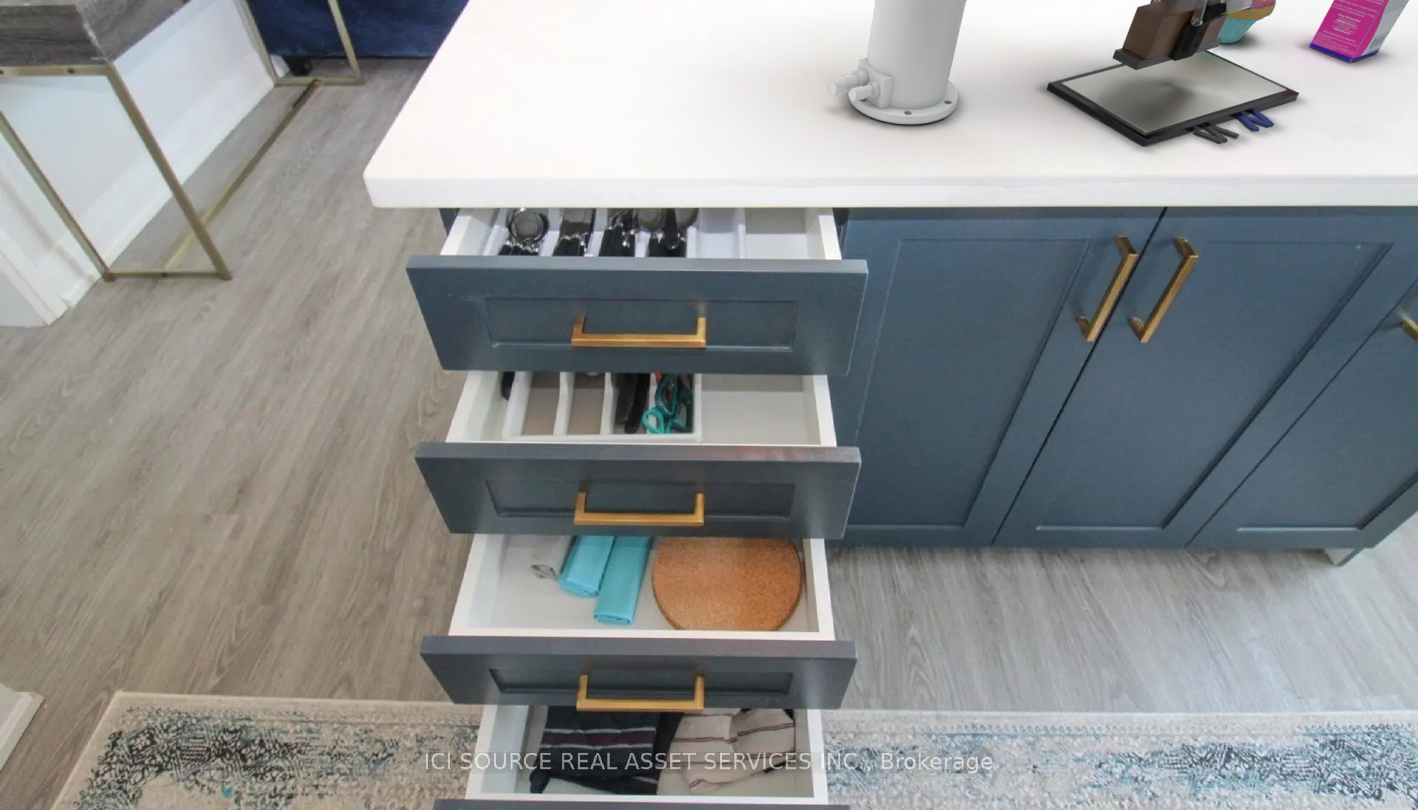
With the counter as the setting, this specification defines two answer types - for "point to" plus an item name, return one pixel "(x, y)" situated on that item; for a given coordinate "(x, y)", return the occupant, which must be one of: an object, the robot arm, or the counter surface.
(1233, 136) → the scribble
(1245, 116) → the scribble
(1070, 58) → the counter surface
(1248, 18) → the cupcake
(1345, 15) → the supplement box
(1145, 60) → the eraser
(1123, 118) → the whiteboard
